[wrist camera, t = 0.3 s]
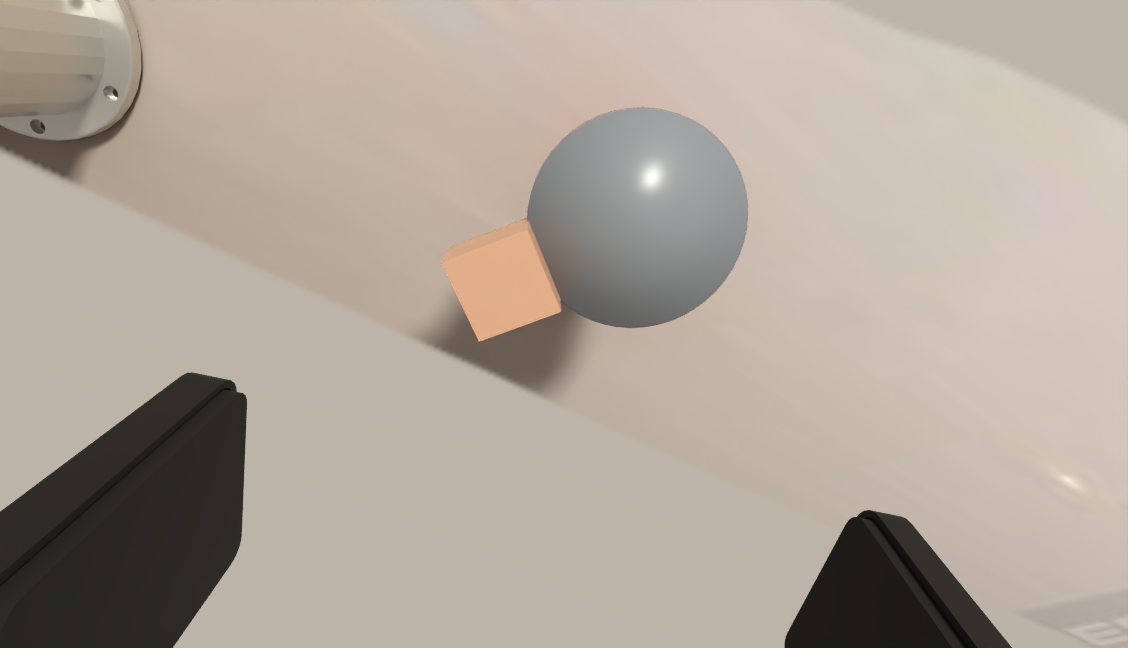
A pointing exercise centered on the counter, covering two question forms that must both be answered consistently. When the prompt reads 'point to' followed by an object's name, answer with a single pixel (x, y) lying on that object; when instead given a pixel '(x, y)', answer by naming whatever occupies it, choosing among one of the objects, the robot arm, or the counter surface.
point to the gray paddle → (611, 229)
